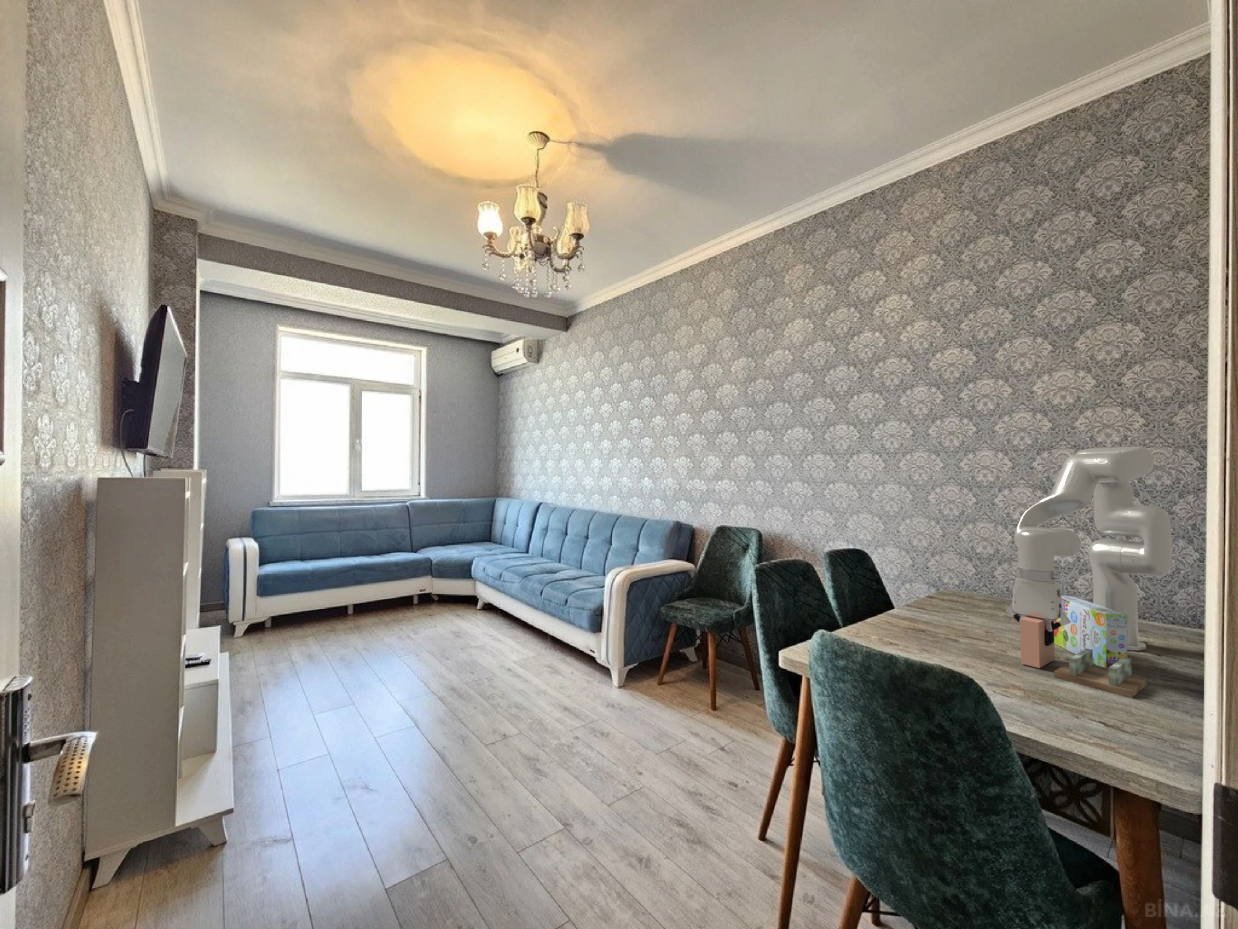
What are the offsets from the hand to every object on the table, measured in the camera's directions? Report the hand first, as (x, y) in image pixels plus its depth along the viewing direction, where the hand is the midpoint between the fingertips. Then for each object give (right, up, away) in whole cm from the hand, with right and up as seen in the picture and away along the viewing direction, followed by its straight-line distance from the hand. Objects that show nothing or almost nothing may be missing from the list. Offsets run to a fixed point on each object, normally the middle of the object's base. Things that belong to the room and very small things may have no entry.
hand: (1037, 641), depth 136 cm
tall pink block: (0, -5, 0) cm, 5 cm away
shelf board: (+6, -5, -12) cm, 14 cm away
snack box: (+18, -6, +4) cm, 20 cm away
